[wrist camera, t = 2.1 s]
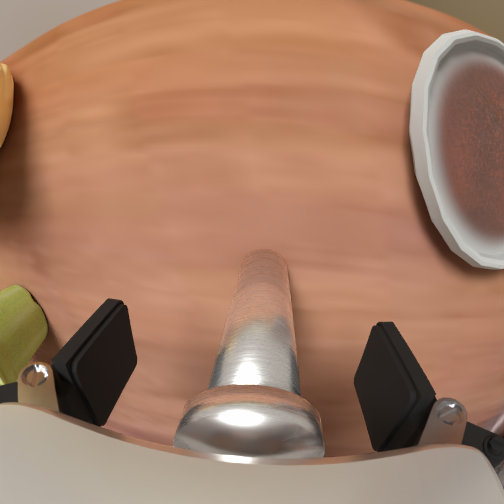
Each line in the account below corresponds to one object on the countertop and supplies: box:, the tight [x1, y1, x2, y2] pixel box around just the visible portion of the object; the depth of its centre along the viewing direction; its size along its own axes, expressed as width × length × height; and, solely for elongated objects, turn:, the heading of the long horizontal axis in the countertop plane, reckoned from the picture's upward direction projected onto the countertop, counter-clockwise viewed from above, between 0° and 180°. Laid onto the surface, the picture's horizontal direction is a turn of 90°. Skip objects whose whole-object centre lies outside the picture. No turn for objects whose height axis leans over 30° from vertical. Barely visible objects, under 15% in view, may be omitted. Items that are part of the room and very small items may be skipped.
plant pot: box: [0, 285, 48, 385], centre depth 16 cm, size 9×9×9 cm
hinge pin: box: [173, 250, 325, 459], centre depth 11 cm, size 4×4×12 cm
